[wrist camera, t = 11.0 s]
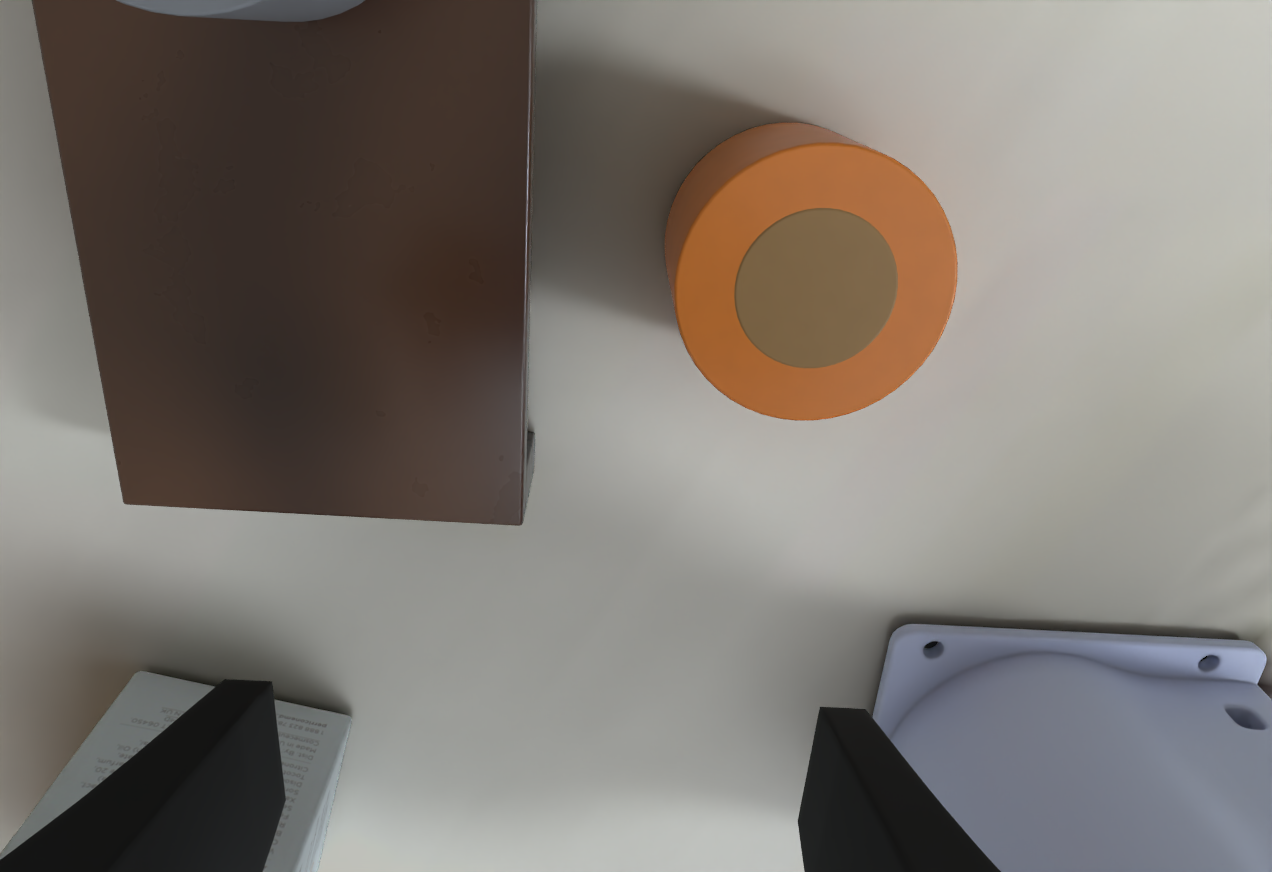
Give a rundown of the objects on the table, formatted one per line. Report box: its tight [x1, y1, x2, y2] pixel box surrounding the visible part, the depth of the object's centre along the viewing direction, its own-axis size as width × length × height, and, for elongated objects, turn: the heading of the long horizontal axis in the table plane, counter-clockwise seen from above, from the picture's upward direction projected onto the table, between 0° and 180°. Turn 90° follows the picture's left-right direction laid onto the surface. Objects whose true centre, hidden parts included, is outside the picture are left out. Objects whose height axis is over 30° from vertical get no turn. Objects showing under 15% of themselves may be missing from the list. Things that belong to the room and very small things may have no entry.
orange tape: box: [665, 123, 957, 420], centre depth 17 cm, size 5×5×4 cm
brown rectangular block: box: [32, 0, 537, 526], centre depth 16 cm, size 8×15×3 cm, turn 176°
